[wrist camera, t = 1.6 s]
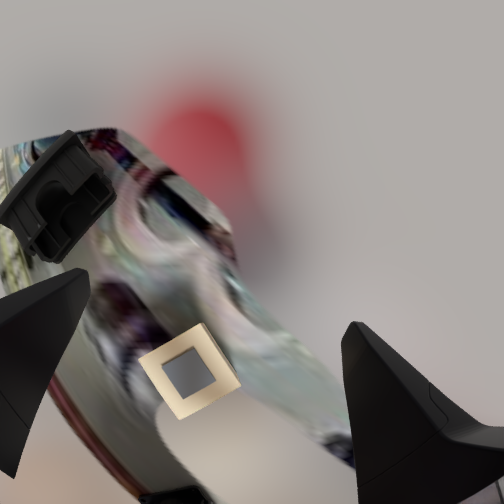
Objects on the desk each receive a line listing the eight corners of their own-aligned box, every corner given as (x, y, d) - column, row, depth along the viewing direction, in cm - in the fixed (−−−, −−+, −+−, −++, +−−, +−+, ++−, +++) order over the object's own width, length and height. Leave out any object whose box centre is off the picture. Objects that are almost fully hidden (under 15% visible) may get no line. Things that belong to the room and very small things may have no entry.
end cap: (85, 156, 25) (61, 118, 18) (122, 193, 24) (99, 156, 18) (24, 225, 22) (-13, 201, 16) (55, 270, 22) (14, 253, 15)
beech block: (186, 401, 21) (178, 421, 16) (153, 351, 21) (137, 359, 16) (236, 372, 22) (241, 386, 17) (203, 322, 23) (199, 323, 18)
